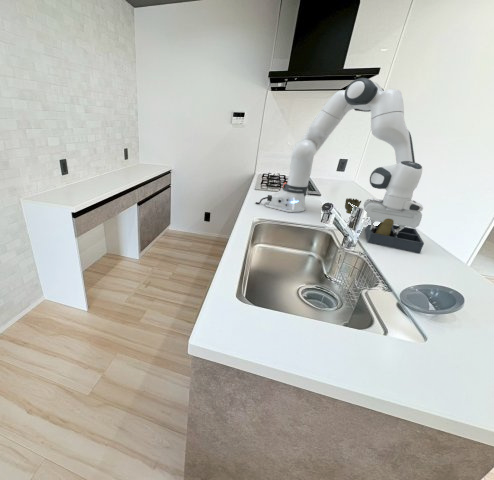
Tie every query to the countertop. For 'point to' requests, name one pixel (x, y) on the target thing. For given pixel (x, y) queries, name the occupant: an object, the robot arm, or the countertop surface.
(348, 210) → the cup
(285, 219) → the countertop surface
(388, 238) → the grid
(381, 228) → the cork
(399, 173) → the robot arm
